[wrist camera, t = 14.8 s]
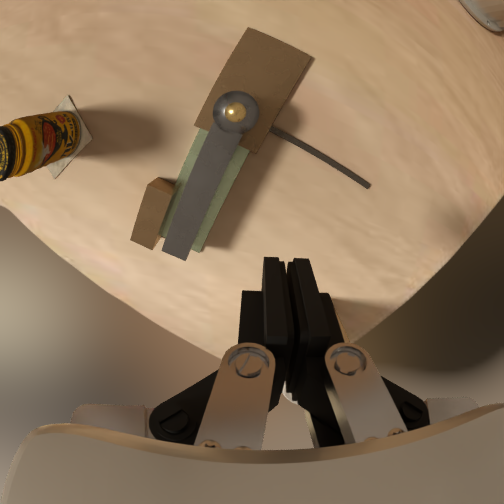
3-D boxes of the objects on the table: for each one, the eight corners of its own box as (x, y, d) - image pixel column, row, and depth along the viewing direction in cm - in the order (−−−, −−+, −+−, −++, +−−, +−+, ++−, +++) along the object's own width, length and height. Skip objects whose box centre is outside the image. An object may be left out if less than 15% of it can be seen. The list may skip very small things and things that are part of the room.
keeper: (251, 146, 26) (251, 150, 23) (198, 254, 32) (193, 268, 29) (183, 116, 24) (174, 116, 22) (140, 228, 31) (130, 239, 28)
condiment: (93, 138, 25) (23, 160, 15) (55, 179, 27) (-8, 214, 17) (68, 94, 22) (-3, 101, 12) (32, 138, 24) (-33, 161, 14)
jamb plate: (405, 122, 24) (406, 122, 24) (353, 207, 29) (355, 209, 29) (248, 28, 20) (248, 27, 19) (194, 125, 25) (193, 125, 25)
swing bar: (228, 87, 22) (224, 83, 19) (265, 104, 23) (267, 101, 20) (164, 235, 30) (154, 250, 27) (196, 248, 31) (189, 265, 28)
